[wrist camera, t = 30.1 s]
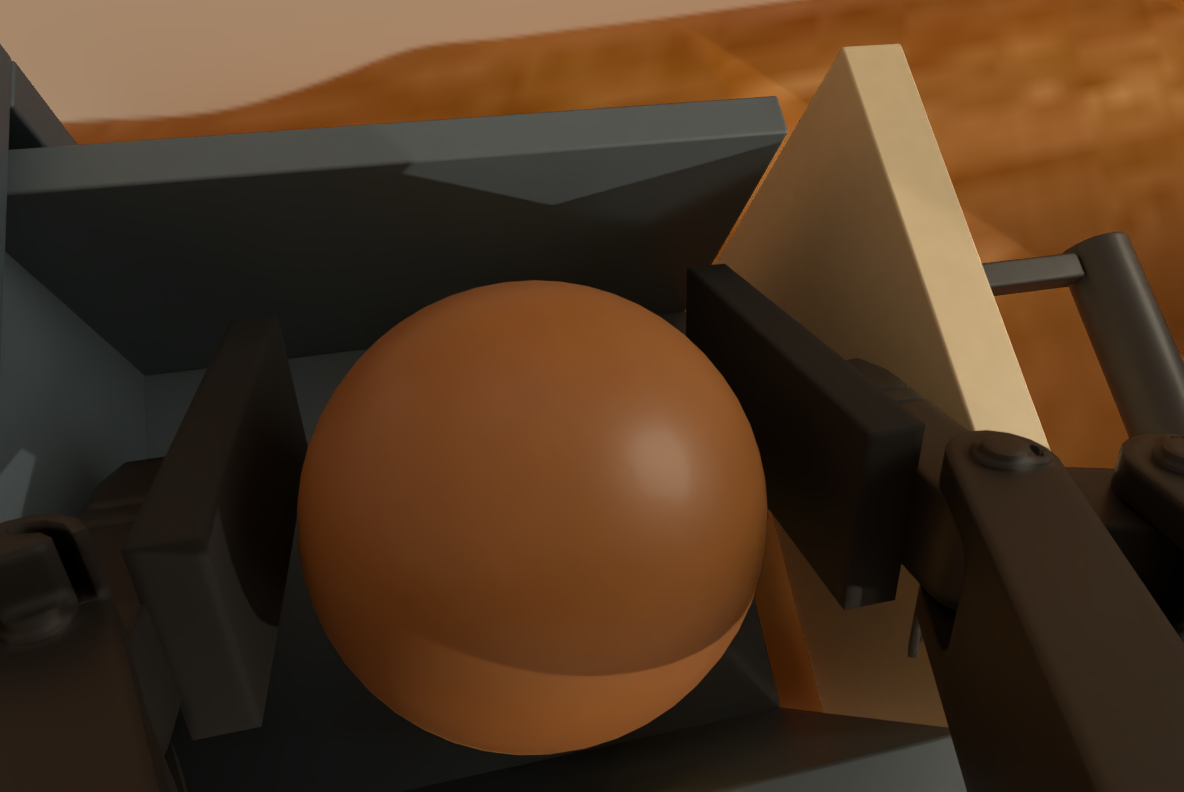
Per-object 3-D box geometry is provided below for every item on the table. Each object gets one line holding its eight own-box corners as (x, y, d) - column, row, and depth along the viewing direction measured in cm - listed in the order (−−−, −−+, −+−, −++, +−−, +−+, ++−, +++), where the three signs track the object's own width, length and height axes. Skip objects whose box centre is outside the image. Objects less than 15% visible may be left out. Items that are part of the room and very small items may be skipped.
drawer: (944, 246, 24) (1186, 25, 16) (1105, 698, 20) (1534, 716, 12) (127, 337, 20) (-120, 102, 12) (137, 928, 16) (-218, 1197, 8)
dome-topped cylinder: (693, 589, 19) (965, 485, 8) (493, 780, 17) (521, 957, 6) (527, 401, 20) (584, 95, 9) (321, 562, 18) (100, 407, 7)
